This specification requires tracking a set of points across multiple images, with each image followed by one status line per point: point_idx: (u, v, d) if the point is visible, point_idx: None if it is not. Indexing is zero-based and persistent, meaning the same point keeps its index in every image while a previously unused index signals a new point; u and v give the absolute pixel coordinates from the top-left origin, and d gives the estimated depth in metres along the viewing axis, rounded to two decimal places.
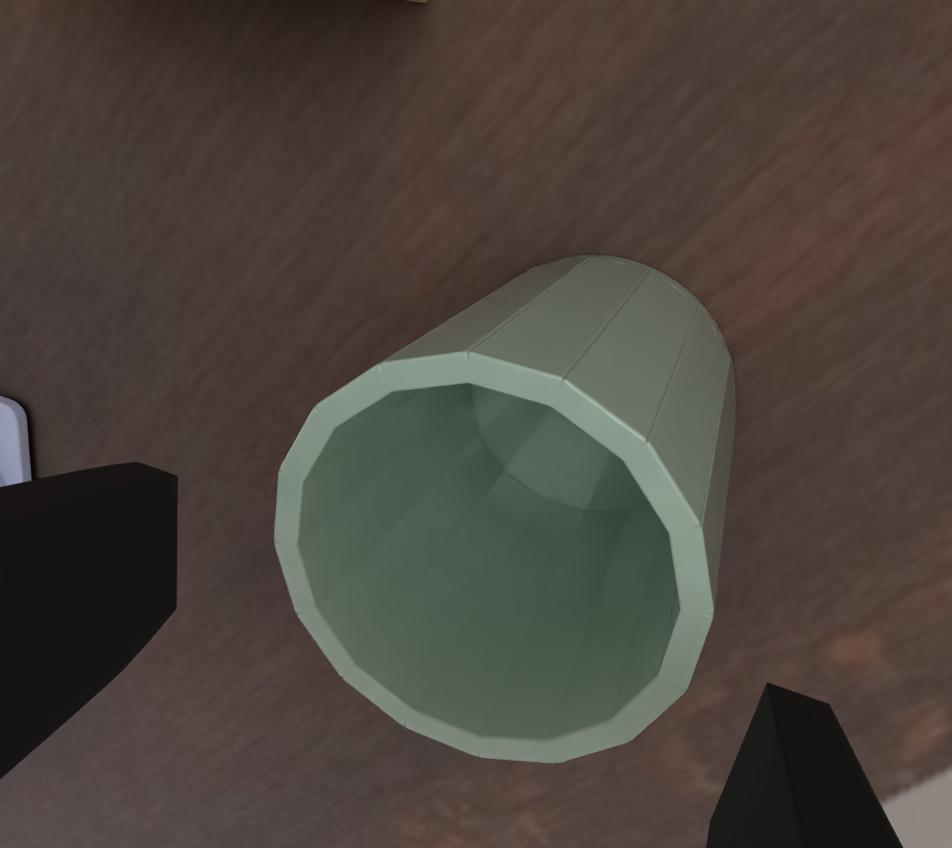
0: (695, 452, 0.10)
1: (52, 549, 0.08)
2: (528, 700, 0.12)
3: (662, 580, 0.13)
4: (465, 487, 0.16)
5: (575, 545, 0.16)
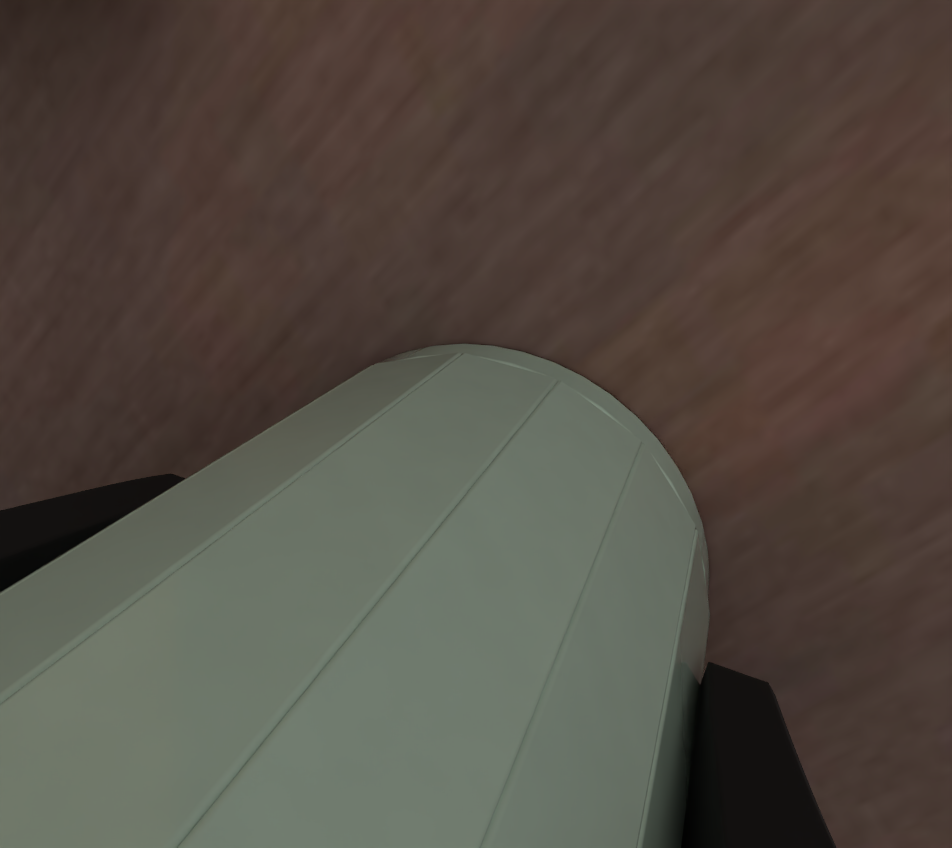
0: None
1: None
2: None
3: None
4: None
5: None
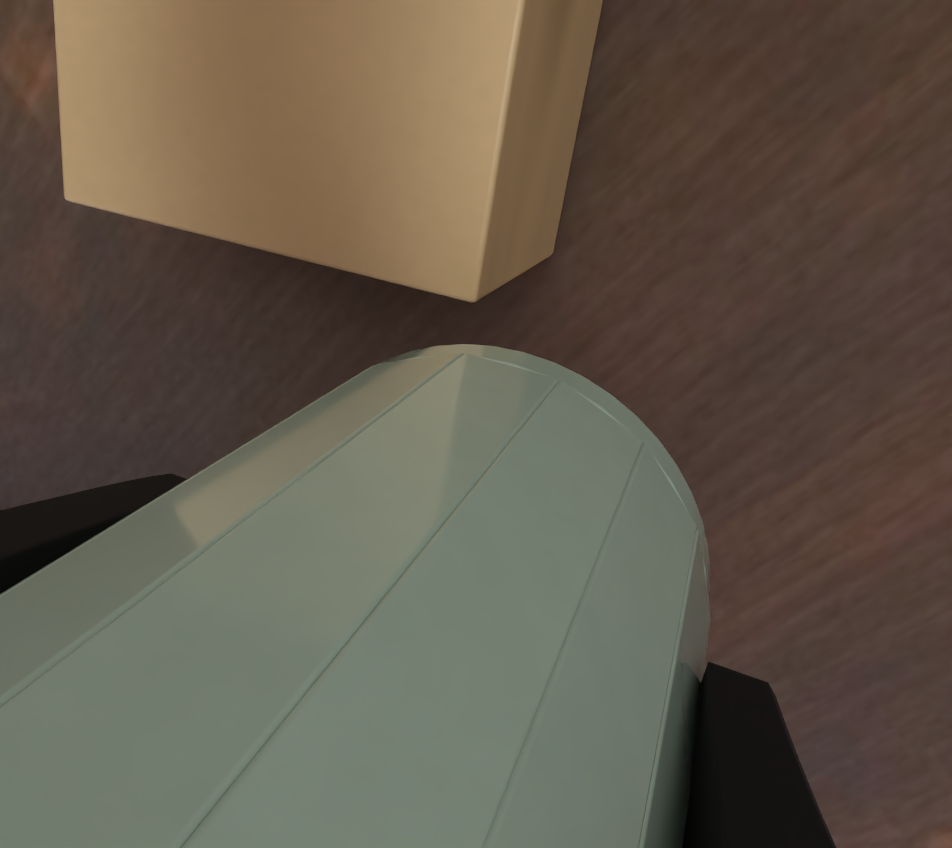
0: None
1: None
2: None
3: None
4: None
5: None
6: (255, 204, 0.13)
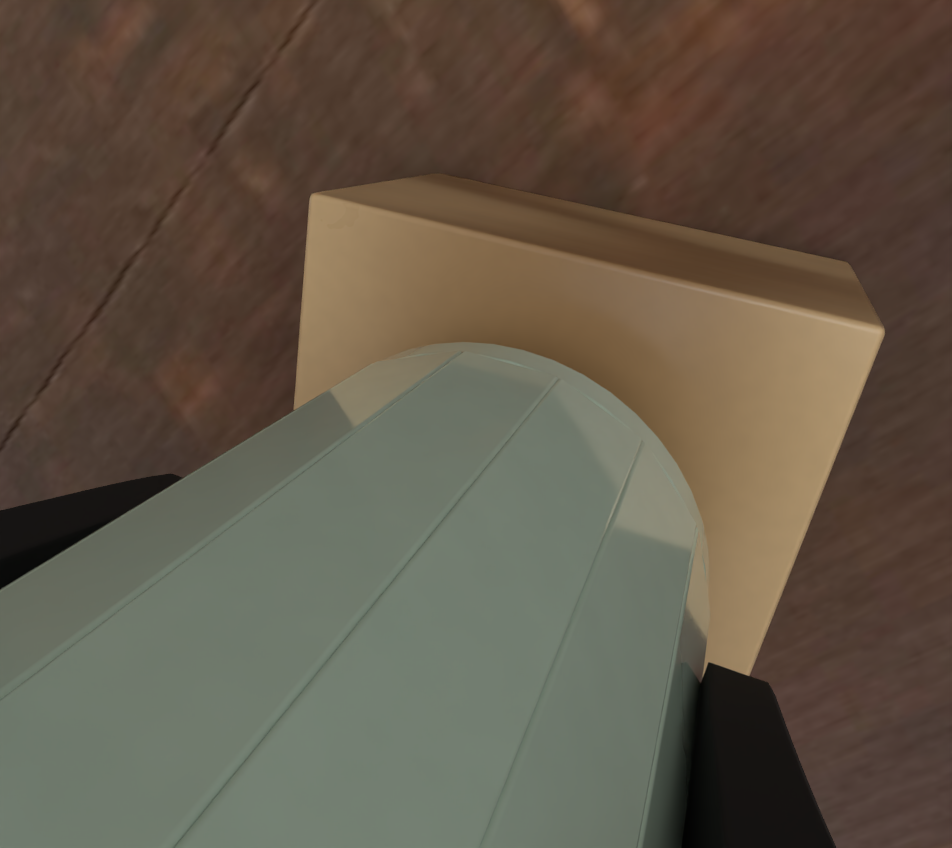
0: None
1: None
2: None
3: None
4: None
5: None
6: None
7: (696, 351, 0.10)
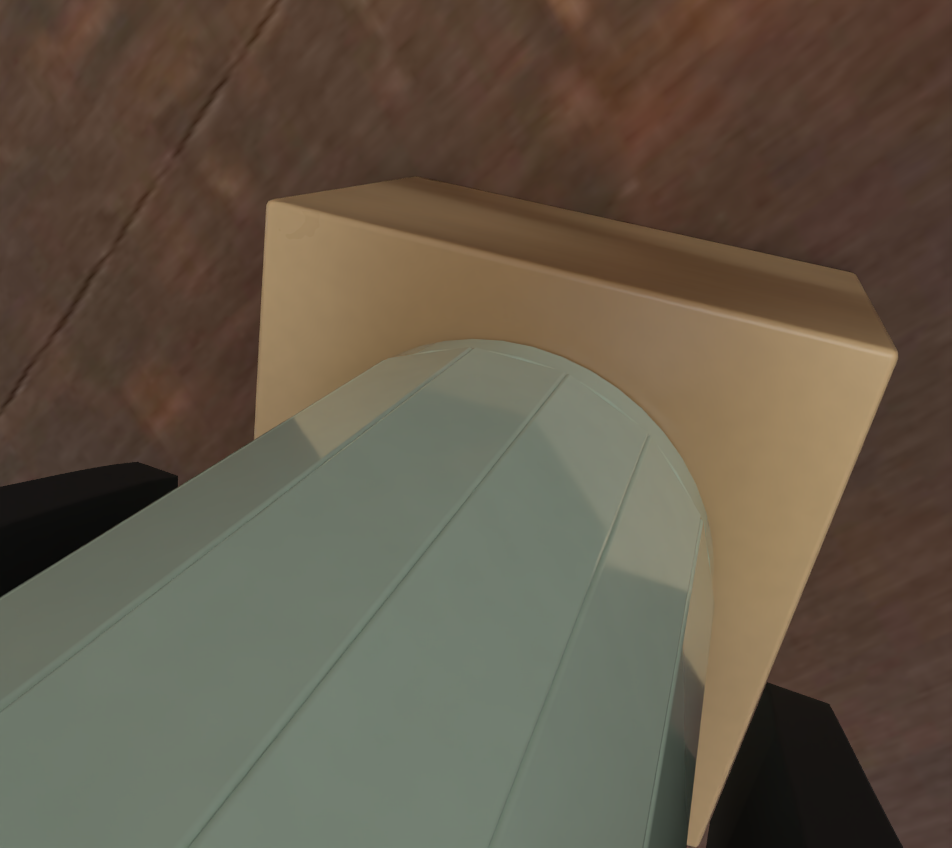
0: None
1: (52, 549, 0.08)
2: None
3: None
4: None
5: None
6: None
7: (688, 374, 0.09)
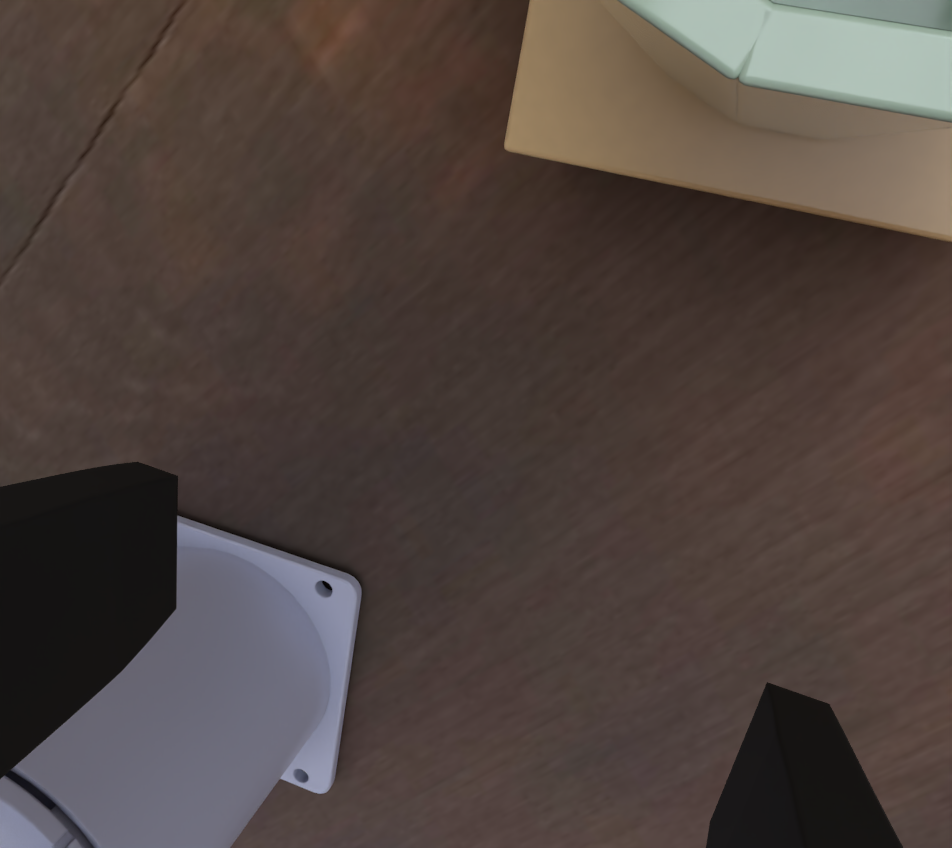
0: None
1: (51, 549, 0.08)
2: None
3: None
4: None
5: None
6: (773, 151, 0.11)
7: None
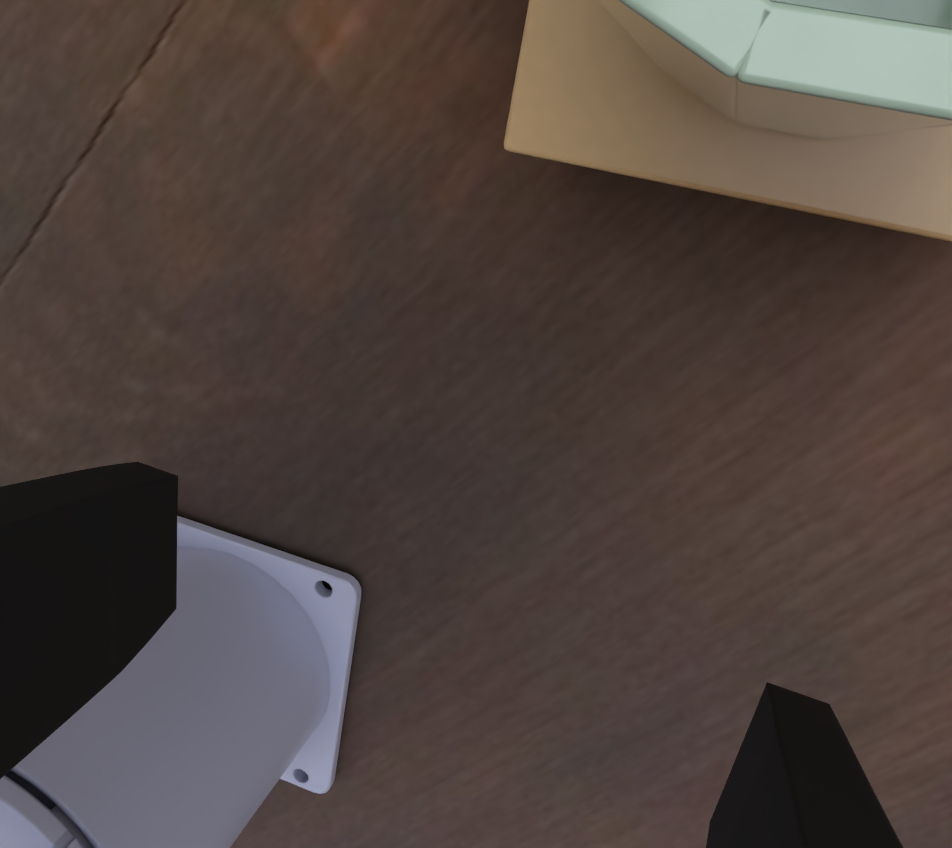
0: None
1: (52, 549, 0.08)
2: None
3: None
4: None
5: None
6: (772, 150, 0.11)
7: None
